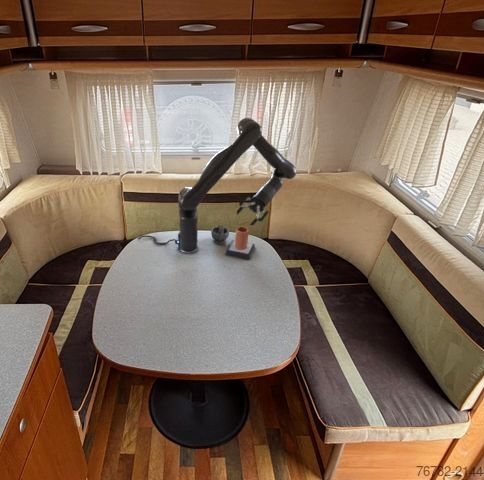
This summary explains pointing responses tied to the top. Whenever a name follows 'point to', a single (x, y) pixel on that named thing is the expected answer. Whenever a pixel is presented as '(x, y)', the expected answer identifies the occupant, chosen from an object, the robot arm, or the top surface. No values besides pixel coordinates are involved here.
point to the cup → (241, 238)
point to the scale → (240, 251)
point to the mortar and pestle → (219, 234)
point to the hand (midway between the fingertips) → (244, 219)
